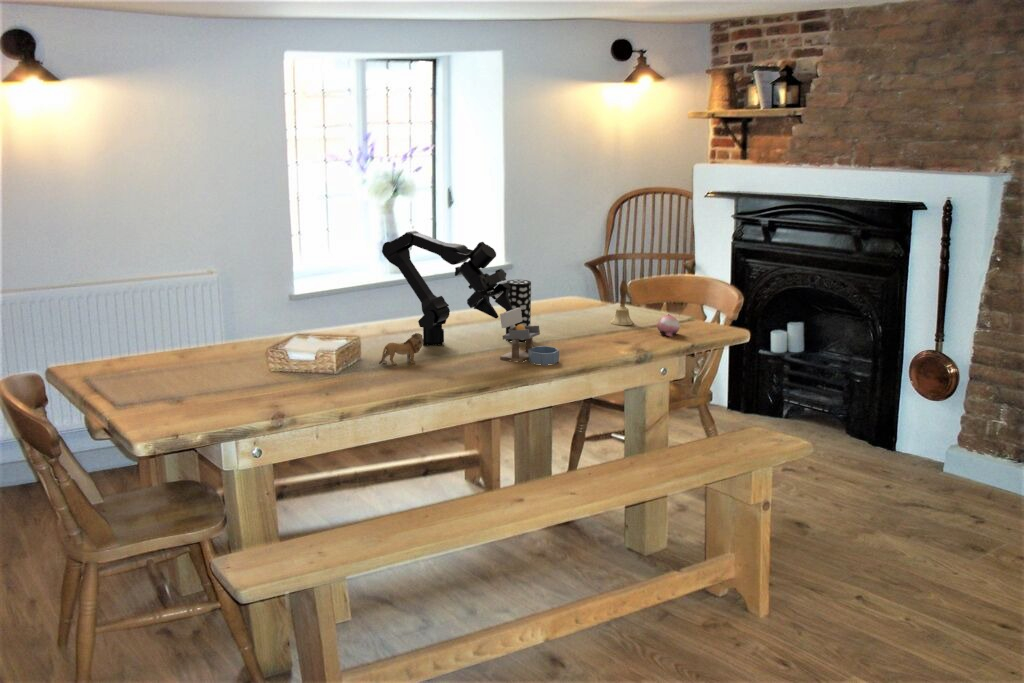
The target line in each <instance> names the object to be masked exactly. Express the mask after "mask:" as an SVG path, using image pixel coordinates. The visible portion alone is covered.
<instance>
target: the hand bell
mask: <svg viewBox="0 0 1024 683" xmlns="http://www.w3.org/2000/svg"><path fill="white" fill-rule="evenodd" d="M627 292H628V286H627V282H626V279H622V280H621V282H620V285H619V294H620V305H619V306H618V307H616V310H615V314H614V317H613V319H612V320H610V323H612V324H611V325H613V326H630V325H631V326H632V325H633V324H634V321H633V320H632V318H631V316H630V311H629V310H630V309H629V308H627V307H626V305H625V304H626V295H627Z"/></svg>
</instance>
